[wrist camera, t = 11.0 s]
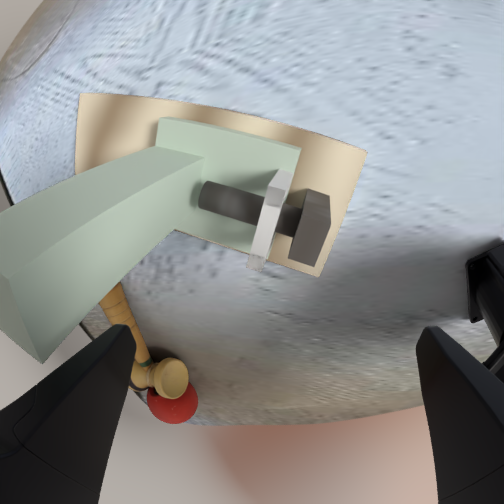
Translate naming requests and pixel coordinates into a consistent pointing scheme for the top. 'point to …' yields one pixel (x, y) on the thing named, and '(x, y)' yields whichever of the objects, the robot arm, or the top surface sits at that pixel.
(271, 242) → the tall sage green column
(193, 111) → the board
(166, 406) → the kendama
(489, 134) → the top surface
